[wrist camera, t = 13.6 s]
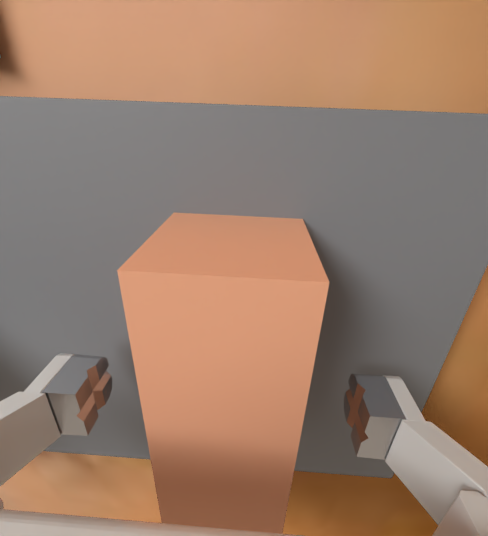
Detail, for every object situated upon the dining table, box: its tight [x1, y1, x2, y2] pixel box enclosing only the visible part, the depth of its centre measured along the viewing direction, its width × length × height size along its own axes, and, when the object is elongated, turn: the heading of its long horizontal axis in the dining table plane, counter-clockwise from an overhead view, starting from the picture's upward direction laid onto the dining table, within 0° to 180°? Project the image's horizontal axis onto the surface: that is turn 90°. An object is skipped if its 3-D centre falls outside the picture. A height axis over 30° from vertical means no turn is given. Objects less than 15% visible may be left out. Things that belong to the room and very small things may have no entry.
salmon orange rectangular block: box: [117, 213, 329, 534], centre depth 10 cm, size 10×4×4 cm, turn 178°
